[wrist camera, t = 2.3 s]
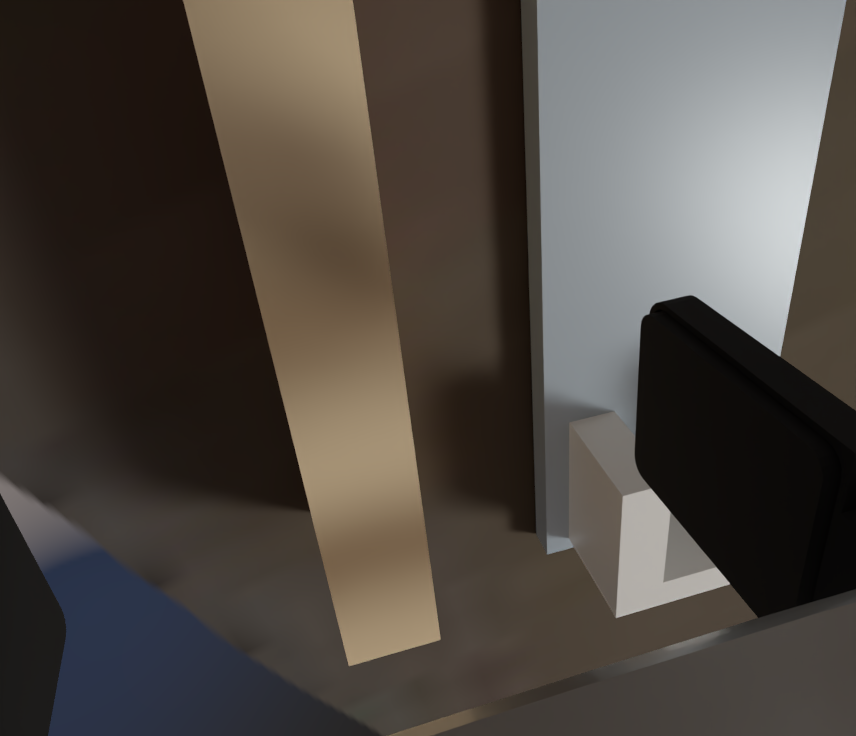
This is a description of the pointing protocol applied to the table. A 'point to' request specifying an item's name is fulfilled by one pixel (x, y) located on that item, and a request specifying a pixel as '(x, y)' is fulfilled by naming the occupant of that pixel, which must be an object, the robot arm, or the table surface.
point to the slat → (324, 296)
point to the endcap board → (654, 236)
